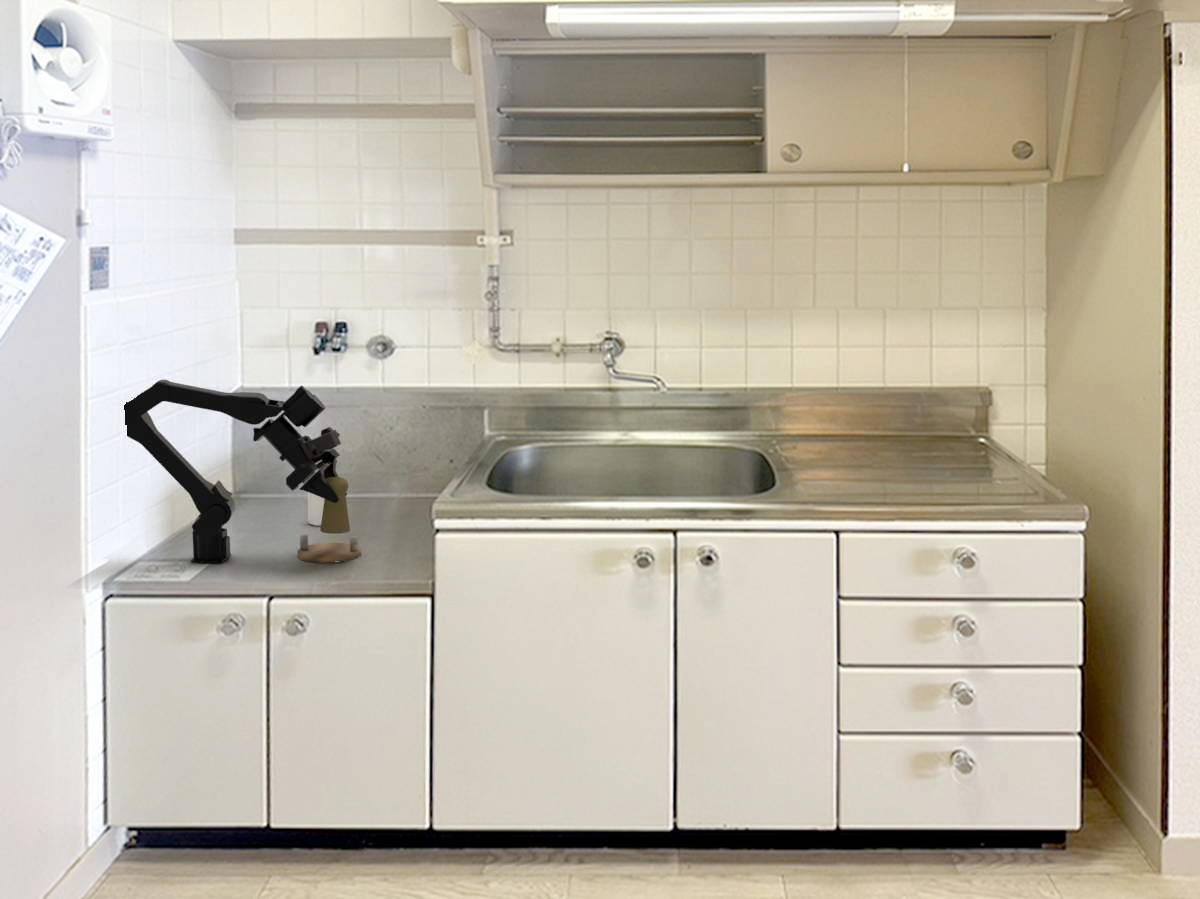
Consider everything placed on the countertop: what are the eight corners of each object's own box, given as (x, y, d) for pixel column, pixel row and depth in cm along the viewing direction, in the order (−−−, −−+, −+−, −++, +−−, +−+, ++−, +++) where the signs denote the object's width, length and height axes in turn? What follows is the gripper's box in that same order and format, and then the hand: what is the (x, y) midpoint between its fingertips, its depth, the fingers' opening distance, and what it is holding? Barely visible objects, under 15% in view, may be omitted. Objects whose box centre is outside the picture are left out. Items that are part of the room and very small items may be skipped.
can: (343, 522, 327) (341, 471, 325) (323, 528, 322) (322, 475, 320) (322, 518, 331) (321, 468, 328) (302, 524, 325) (300, 472, 323)
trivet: (289, 561, 293) (289, 542, 292) (307, 546, 305) (307, 528, 305) (352, 563, 292) (351, 544, 291) (367, 548, 304) (367, 529, 304)
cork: (337, 525, 297) (337, 473, 296) (356, 530, 293) (356, 478, 292) (314, 529, 293) (314, 477, 291) (332, 535, 289) (332, 481, 287)
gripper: (301, 423, 280) (355, 482, 281) (330, 409, 299) (381, 464, 299) (262, 461, 283) (317, 518, 283) (293, 444, 301) (344, 499, 302)
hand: (341, 498), depth 292 cm, fingers closed on cork, 5 cm apart
